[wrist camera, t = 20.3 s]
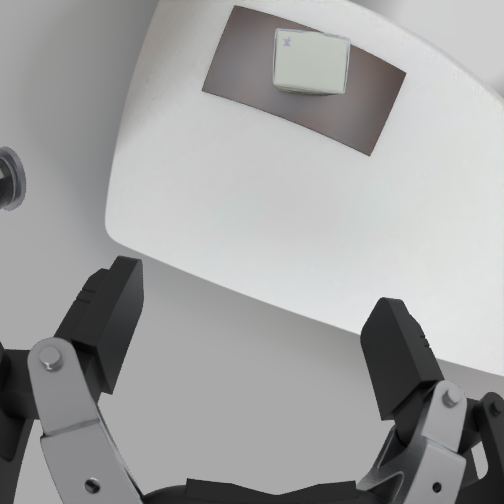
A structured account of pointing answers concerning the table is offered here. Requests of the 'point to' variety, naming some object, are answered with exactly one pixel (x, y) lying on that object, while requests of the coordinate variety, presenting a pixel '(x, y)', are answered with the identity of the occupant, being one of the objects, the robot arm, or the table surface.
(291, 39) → the box
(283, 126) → the table surface
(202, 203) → the table surface
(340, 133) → the walnut board
